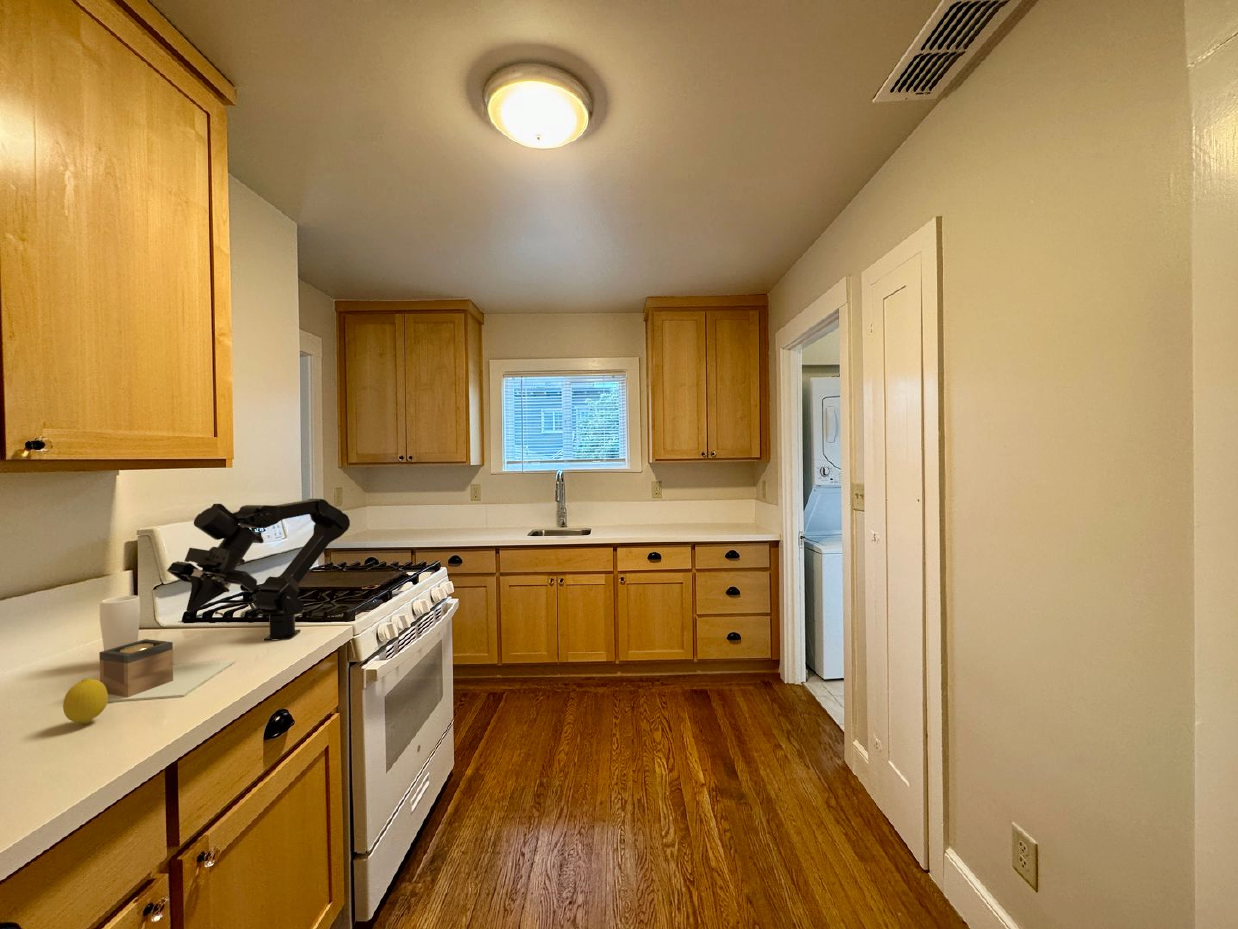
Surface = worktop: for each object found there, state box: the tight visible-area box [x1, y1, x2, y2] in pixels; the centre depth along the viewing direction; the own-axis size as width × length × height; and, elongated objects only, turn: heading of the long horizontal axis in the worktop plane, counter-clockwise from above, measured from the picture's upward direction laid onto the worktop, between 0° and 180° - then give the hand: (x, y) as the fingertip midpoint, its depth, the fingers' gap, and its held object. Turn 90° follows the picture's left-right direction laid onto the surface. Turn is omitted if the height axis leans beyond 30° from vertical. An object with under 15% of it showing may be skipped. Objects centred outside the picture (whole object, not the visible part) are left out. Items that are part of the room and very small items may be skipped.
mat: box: [107, 660, 236, 703], centre depth 111 cm, size 18×18×1 cm
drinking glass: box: [99, 594, 141, 651], centre depth 121 cm, size 7×7×15 cm
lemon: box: [62, 678, 108, 725], centre depth 93 cm, size 6×6×8 cm
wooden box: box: [98, 638, 174, 697], centre depth 107 cm, size 8×8×8 cm
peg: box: [120, 643, 153, 653], centre depth 107 cm, size 5×5×8 cm
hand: (189, 611), depth 116 cm, fingers closed
